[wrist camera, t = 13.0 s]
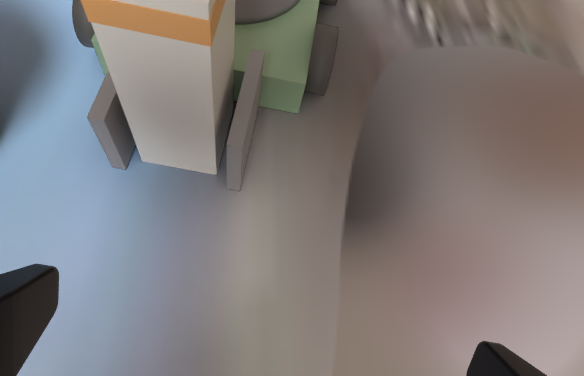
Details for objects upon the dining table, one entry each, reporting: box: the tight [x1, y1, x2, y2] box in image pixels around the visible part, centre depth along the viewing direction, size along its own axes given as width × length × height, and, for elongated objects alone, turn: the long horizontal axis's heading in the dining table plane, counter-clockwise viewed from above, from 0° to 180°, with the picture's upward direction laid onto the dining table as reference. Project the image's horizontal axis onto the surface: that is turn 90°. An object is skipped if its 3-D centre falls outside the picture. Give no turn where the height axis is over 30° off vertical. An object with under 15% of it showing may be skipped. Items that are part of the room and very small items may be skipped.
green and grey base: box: [72, 0, 338, 191], centre depth 27 cm, size 22×16×5 cm
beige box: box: [81, 0, 235, 175], centre depth 21 cm, size 5×5×12 cm
